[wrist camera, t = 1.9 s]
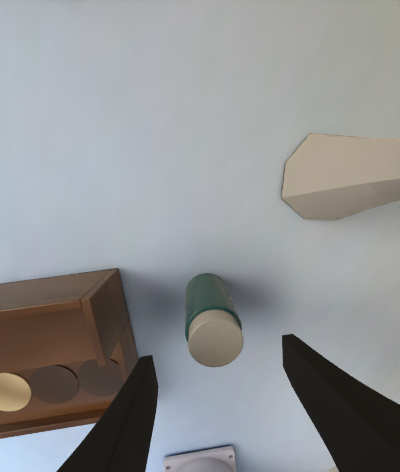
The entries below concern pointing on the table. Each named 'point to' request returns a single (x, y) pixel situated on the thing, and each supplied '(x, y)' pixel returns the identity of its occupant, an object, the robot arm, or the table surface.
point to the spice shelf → (62, 350)
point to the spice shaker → (211, 322)
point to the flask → (341, 175)
